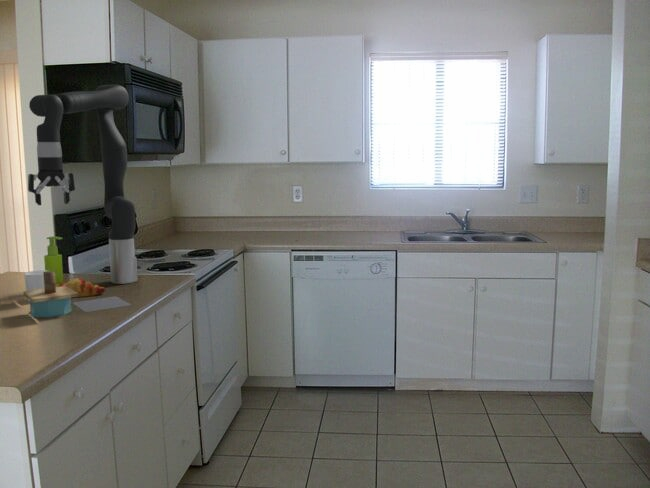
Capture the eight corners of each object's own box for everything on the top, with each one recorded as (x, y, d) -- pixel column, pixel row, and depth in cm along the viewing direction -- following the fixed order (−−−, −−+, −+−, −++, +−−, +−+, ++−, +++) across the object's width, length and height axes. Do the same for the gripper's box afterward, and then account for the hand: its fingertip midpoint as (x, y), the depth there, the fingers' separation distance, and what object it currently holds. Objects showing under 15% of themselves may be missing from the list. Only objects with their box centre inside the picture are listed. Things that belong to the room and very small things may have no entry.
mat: (116, 297, 214) (116, 296, 214) (131, 306, 203) (131, 304, 203) (71, 304, 205) (71, 302, 205) (85, 314, 194) (85, 312, 193)
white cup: (31, 298, 213) (29, 270, 212) (55, 298, 214) (53, 270, 212) (22, 304, 205) (20, 275, 204) (46, 303, 206) (44, 274, 205)
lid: (66, 288, 202) (64, 266, 200) (78, 296, 191) (76, 273, 190) (23, 294, 194) (21, 271, 192) (33, 302, 184) (31, 278, 182)
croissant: (43, 307, 215) (36, 290, 211) (53, 288, 224) (47, 271, 219) (103, 306, 215) (98, 289, 211) (111, 287, 223) (106, 270, 219)
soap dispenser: (59, 292, 222) (56, 238, 219) (43, 291, 223) (39, 237, 220) (69, 289, 227) (66, 236, 224) (53, 288, 229) (49, 235, 226)
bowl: (64, 307, 201) (63, 289, 200) (74, 314, 192) (73, 296, 192) (28, 313, 194) (27, 294, 193) (37, 320, 186) (35, 301, 185)
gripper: (68, 155, 211) (71, 202, 214) (23, 156, 203) (27, 204, 205) (75, 156, 205) (78, 204, 208) (29, 156, 197) (32, 206, 199)
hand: (52, 204), depth 207 cm, fingers open, 8 cm apart
